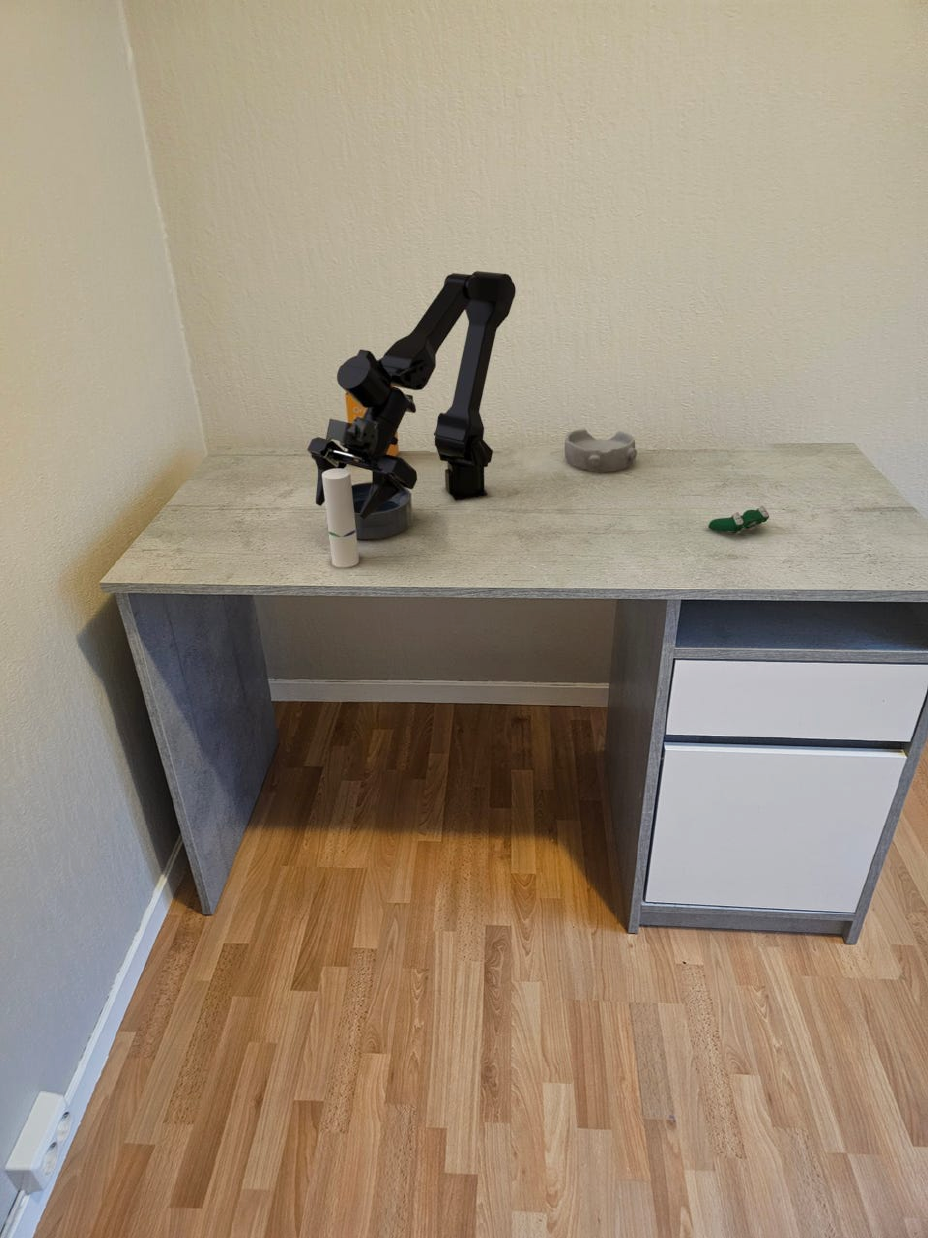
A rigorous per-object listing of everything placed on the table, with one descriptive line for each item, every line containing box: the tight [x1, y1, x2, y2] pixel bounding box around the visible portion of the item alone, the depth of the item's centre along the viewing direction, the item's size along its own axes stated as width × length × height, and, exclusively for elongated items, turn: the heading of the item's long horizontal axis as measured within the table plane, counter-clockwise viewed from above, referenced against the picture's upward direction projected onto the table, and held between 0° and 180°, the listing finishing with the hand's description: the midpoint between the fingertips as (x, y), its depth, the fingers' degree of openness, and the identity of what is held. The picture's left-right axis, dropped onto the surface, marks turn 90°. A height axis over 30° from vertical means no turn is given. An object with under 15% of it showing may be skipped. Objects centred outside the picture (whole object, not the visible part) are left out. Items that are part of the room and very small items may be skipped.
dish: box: [564, 428, 638, 472], centre depth 168 cm, size 14×14×5 cm
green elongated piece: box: [707, 505, 770, 535], centre depth 140 cm, size 9×4×6 cm
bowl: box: [351, 481, 414, 540], centre depth 145 cm, size 14×14×5 cm
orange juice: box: [344, 386, 400, 461], centre depth 169 cm, size 8×9×20 cm
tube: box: [322, 468, 360, 568], centre depth 131 cm, size 4×4×15 cm
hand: (339, 511), depth 130 cm, fingers open, 9 cm apart
